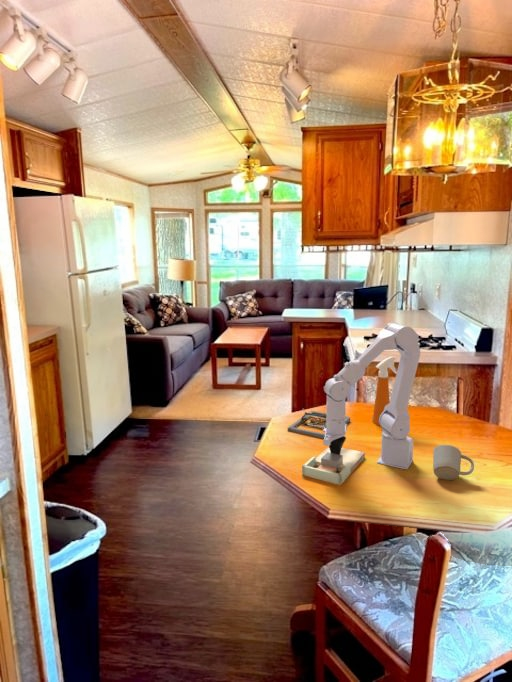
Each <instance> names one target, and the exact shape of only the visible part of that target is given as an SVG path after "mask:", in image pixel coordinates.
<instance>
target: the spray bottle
mask: <svg viewBox="0 0 512 682" xmlns="http://www.w3.org/2000/svg"><path fill="white" fill-rule="evenodd" d="M396 360H397V356H396V355H395V356H394V355H393V356H389V357H387V358H385V359H384V360H381V361H379V363H377V365H375V368H376V369H379V370H378V375H377V383H376V391H375V400H374V405H373V415H372V423H373V424H374V425H378V426H380V424H379V417H380V415H381V414H382V413H383V411H384V408H385V406H386V405H387V404H389V403H390V387H389V371H388V368H389V369H390V370H391V371H392V372H393V373H394V374H397V368H396V367H395V361H396Z"/></svg>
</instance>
